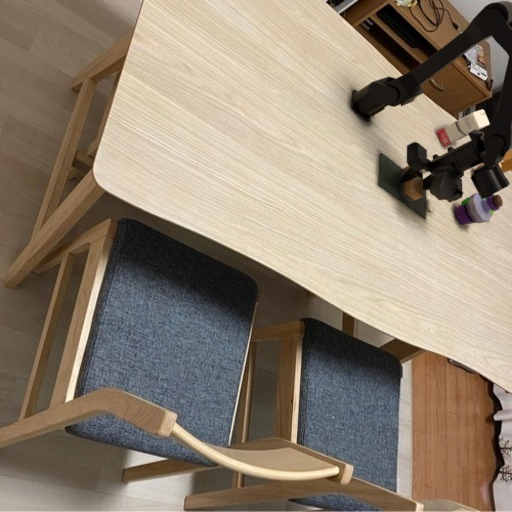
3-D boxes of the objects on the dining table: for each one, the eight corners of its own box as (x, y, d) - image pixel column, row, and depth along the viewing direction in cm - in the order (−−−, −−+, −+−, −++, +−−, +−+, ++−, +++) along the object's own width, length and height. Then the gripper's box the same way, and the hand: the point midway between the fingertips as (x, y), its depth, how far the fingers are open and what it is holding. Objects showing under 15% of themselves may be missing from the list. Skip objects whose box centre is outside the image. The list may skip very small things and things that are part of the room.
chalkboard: (378, 185, 137) (380, 184, 136) (379, 153, 142) (381, 152, 141) (424, 219, 145) (426, 218, 145) (424, 188, 150) (426, 187, 150)
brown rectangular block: (399, 195, 140) (413, 188, 137) (400, 169, 144) (413, 163, 141) (409, 202, 142) (423, 196, 139) (410, 177, 146) (423, 171, 143)
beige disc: (426, 207, 147) (428, 206, 146) (426, 198, 148) (428, 197, 148) (430, 213, 149) (433, 213, 148) (430, 204, 150) (433, 203, 150)
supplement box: (485, 180, 176) (516, 167, 169) (481, 170, 177) (512, 156, 170) (489, 179, 179) (520, 166, 172) (485, 169, 179) (516, 155, 172)
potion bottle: (450, 196, 158) (490, 178, 150) (468, 210, 163) (508, 194, 154) (450, 221, 154) (492, 205, 146) (469, 236, 158) (510, 220, 150)
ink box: (443, 147, 165) (480, 128, 157) (435, 131, 165) (472, 111, 157) (454, 142, 171) (491, 124, 163) (447, 127, 171) (483, 108, 163)
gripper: (437, 165, 123) (380, 193, 134) (486, 205, 132) (428, 228, 144) (437, 127, 129) (382, 157, 140) (483, 168, 138) (428, 193, 149)
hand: (406, 185), depth 143 cm, fingers closed on brown rectangular block, 4 cm apart
